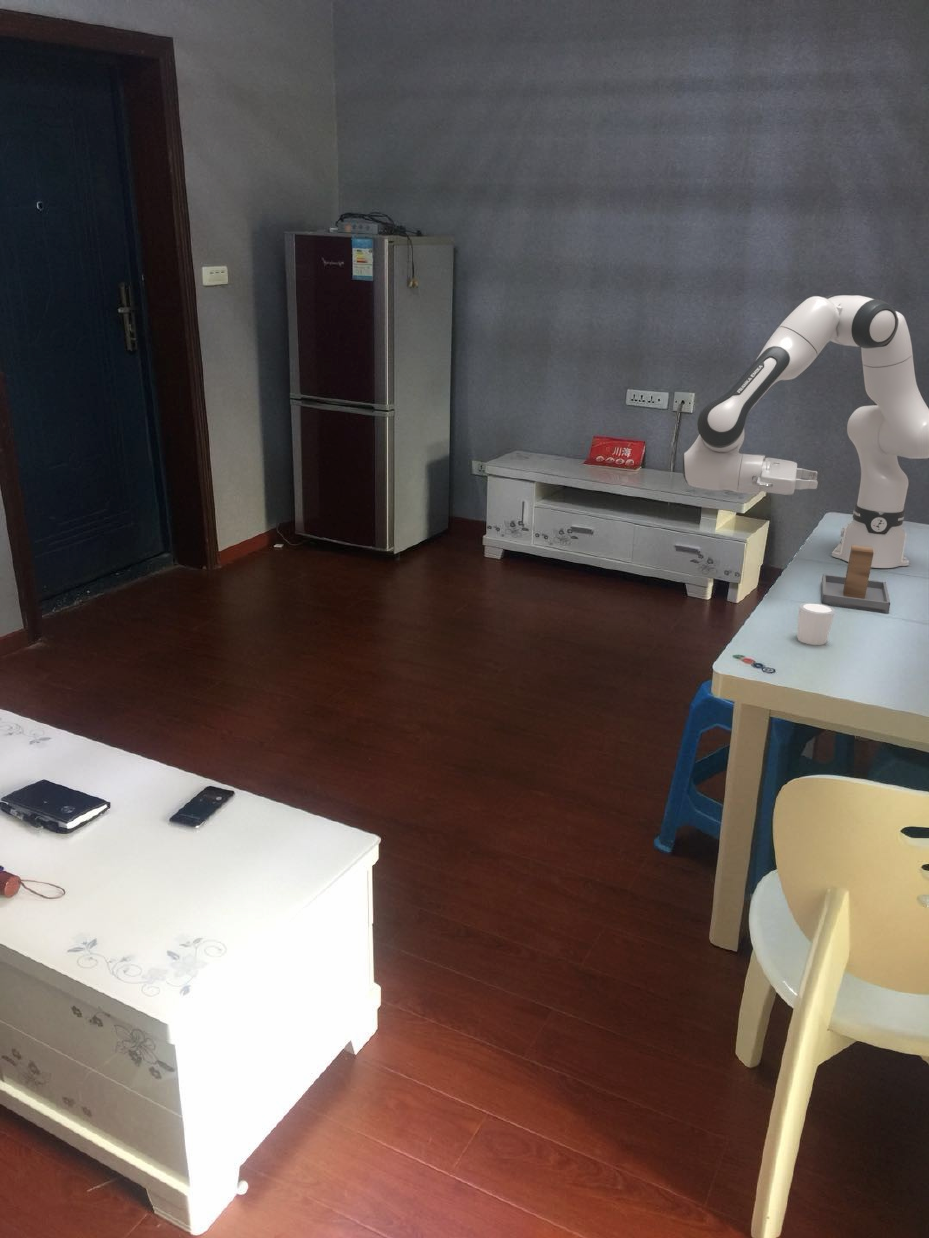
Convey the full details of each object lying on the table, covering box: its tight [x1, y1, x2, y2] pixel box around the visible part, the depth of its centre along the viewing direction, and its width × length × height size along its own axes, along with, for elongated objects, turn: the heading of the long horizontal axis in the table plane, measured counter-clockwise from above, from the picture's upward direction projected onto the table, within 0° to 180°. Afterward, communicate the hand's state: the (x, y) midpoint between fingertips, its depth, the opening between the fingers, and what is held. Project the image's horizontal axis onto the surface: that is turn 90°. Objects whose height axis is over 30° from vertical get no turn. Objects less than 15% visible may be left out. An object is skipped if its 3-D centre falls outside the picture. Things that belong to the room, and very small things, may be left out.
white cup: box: [796, 602, 836, 646], centre depth 195 cm, size 7×7×7 cm
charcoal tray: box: [820, 573, 891, 614], centre depth 221 cm, size 16×14×2 cm
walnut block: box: [843, 545, 874, 599], centre depth 220 cm, size 4×4×11 cm
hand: (817, 480), depth 216 cm, fingers open, 8 cm apart
